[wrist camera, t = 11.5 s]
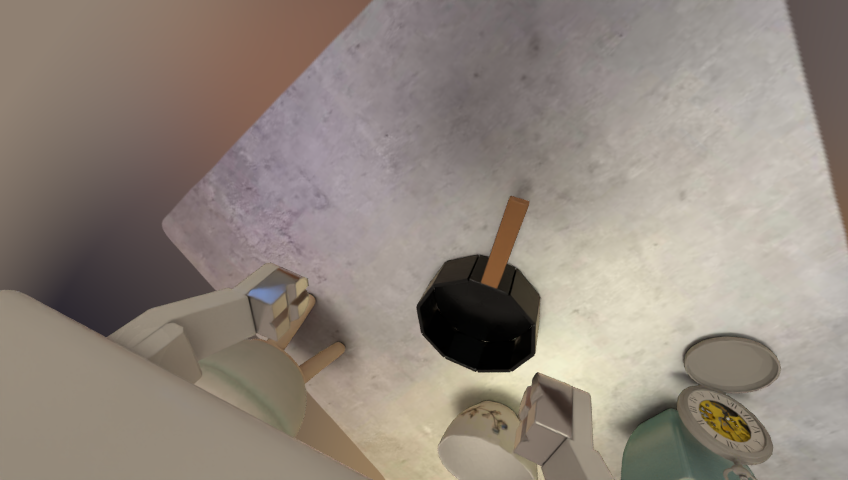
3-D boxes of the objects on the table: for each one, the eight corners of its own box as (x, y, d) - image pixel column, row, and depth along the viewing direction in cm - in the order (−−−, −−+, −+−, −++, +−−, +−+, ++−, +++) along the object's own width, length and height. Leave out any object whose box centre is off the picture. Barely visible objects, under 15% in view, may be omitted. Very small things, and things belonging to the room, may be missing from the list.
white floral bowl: (453, 372, 47) (434, 425, 40) (548, 399, 42) (543, 463, 36) (455, 434, 54) (439, 487, 48) (536, 462, 50) (530, 525, 43)
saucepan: (457, 161, 31) (442, 178, 28) (601, 203, 28) (604, 228, 25) (423, 317, 43) (409, 342, 40) (521, 357, 40) (515, 389, 37)
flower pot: (610, 421, 40) (617, 504, 33) (666, 387, 35) (689, 478, 28) (679, 461, 39) (701, 556, 32) (747, 433, 34) (792, 539, 27)
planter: (370, 367, 54) (267, 531, 36) (294, 351, 60) (175, 483, 42) (341, 285, 46) (194, 440, 29) (258, 277, 53) (96, 399, 35)
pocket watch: (769, 328, 28) (844, 442, 20) (783, 397, 31) (855, 523, 23) (655, 338, 33) (680, 435, 25) (676, 398, 35) (705, 504, 27)
